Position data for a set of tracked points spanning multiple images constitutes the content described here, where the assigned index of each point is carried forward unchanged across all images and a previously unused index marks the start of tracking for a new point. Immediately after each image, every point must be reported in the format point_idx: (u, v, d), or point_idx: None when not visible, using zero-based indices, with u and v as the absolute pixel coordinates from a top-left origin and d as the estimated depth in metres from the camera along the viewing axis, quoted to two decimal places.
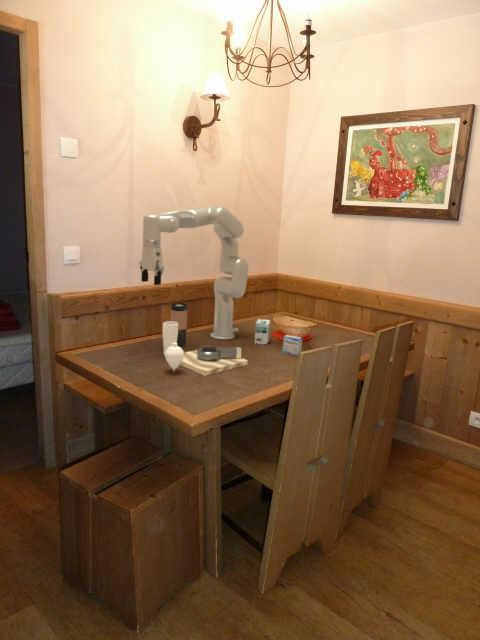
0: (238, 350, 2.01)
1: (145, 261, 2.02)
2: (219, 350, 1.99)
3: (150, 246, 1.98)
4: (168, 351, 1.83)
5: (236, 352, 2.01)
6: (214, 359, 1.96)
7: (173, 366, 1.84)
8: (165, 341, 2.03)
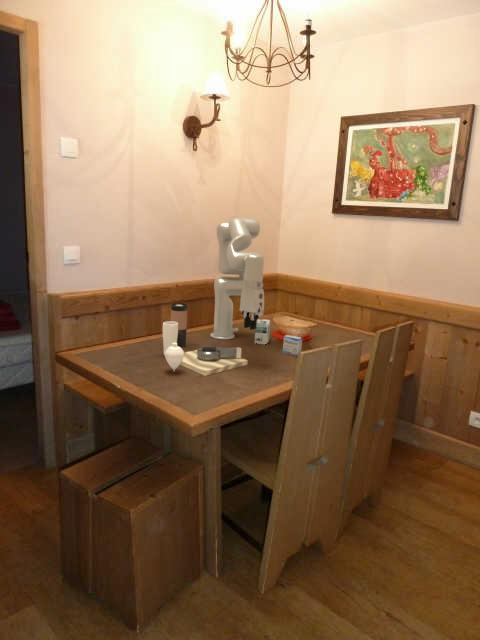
0: (238, 350, 2.01)
1: (245, 303, 1.91)
2: (219, 350, 1.99)
3: (253, 288, 1.87)
4: (168, 351, 1.83)
5: (236, 352, 2.01)
6: (214, 359, 1.96)
7: (173, 366, 1.84)
8: (165, 341, 2.03)
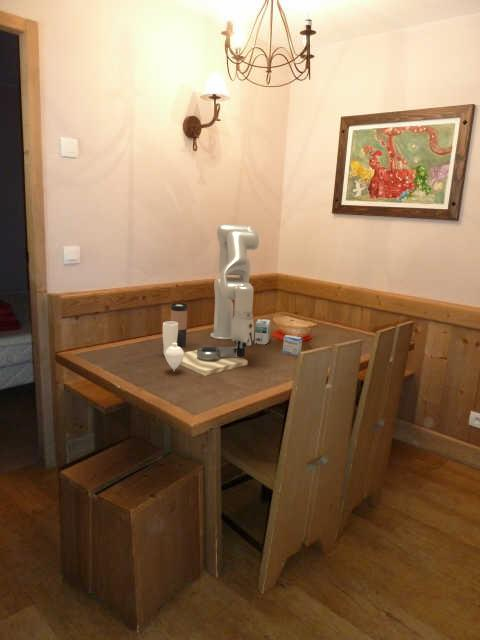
0: None
1: (236, 332, 1.97)
2: (219, 350, 2.00)
3: (243, 318, 1.93)
4: (168, 351, 1.83)
5: (235, 352, 2.02)
6: (215, 359, 1.96)
7: (173, 366, 1.84)
8: (165, 341, 2.03)
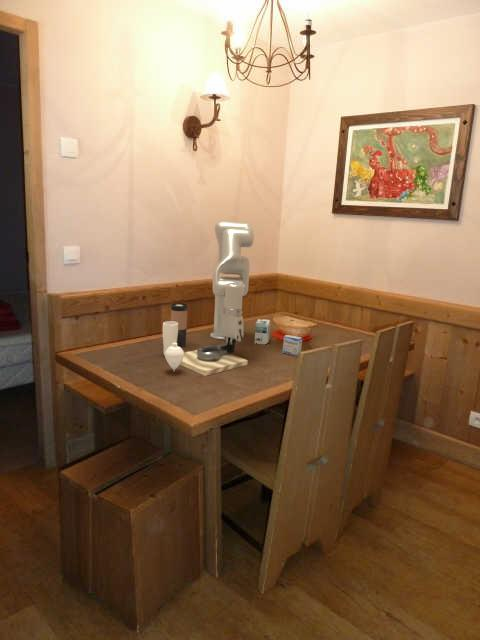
0: None
1: (226, 329, 2.01)
2: (218, 348, 2.02)
3: (233, 315, 1.97)
4: (168, 351, 1.83)
5: None
6: (219, 358, 1.98)
7: (173, 366, 1.84)
8: (165, 341, 2.03)
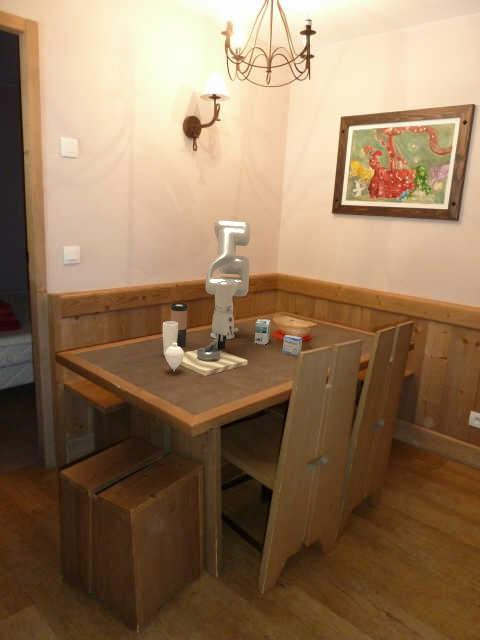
0: None
1: (216, 326, 2.05)
2: (213, 347, 2.03)
3: (223, 312, 2.01)
4: (168, 351, 1.83)
5: (217, 345, 2.11)
6: None
7: (173, 366, 1.84)
8: (165, 341, 2.03)
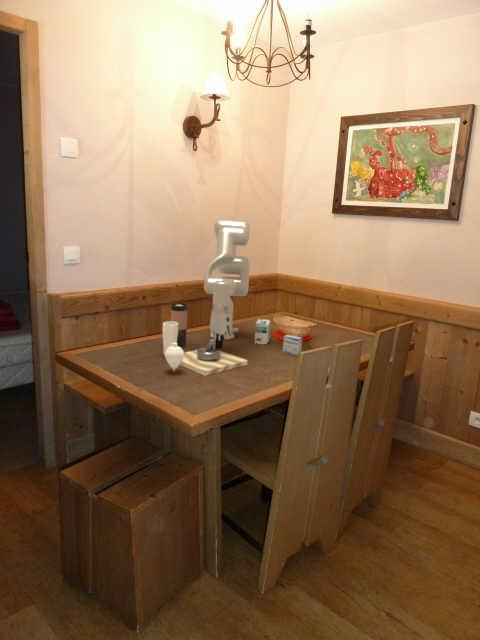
0: (214, 341, 2.12)
1: (214, 325, 2.06)
2: (212, 347, 2.04)
3: (220, 312, 2.02)
4: (168, 351, 1.83)
5: (214, 344, 2.11)
6: None
7: (173, 366, 1.84)
8: (165, 341, 2.03)
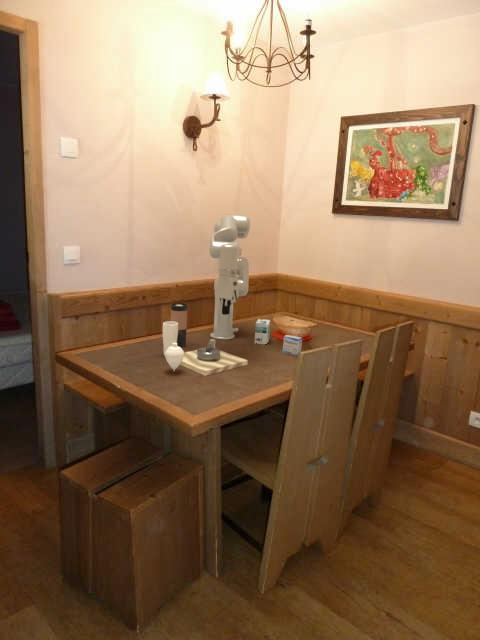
0: (214, 341, 2.12)
1: (221, 290, 2.01)
2: (212, 347, 2.04)
3: (227, 276, 1.97)
4: (168, 351, 1.83)
5: (214, 344, 2.11)
6: None
7: (173, 366, 1.84)
8: (165, 341, 2.03)
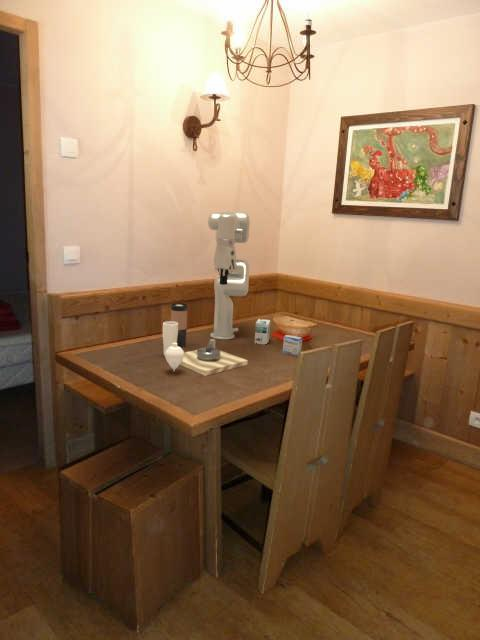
0: (214, 341, 2.12)
1: (219, 260, 2.05)
2: (212, 347, 2.04)
3: (225, 245, 2.01)
4: (168, 351, 1.83)
5: (214, 344, 2.11)
6: None
7: (173, 366, 1.84)
8: (165, 341, 2.03)
